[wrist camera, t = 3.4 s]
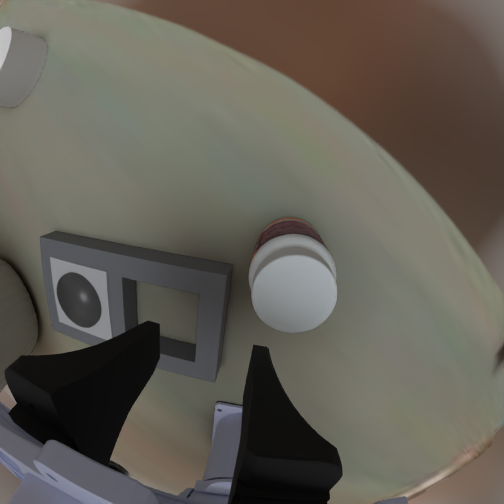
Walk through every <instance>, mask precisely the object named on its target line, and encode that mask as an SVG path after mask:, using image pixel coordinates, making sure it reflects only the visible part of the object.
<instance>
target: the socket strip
mask: <svg viewBox="0 0 504 504" xmlns="http://www.w3.org/2000/svg"><path fill="white" fill-rule="evenodd" d="M40 247H41V258H42V268H43V276H44V283H45V290H46V296H47V302H48V307H49V312H50V317H51V322H52V327H53V329H54V330H56V331H58V332H61V333H63V334H65V335H67V336H70V337H72V338H74V339H77V340H79V341H82V342H84V343H87V344H89V345H92V346H94V345H97V344H99V343H102V342H104V341H107V340H109V339H111V338H114V337H116V336H118V335H120V334H122V333H124V332H126V331H128V330H130V329H132V328H134V327H136V326H138V324H137V304H136V281H141V282H145V283H149V284H154V285H158V286H163V287H167V288H172V289H176V290H181V291H186V292H191V293H196V294H199V306H198V321H197V338H196V345H193V344H189V343H185V342H181V341H176V340H172V339H169V338H165V337H161V336H160V359H159V361H158V364H157V366H156V368H160V369H163V370H167V371H170V372H174V373H178V374H182V375H186V376H190V377H194V378H198V379H202V380H207V381H211V382H215V381H216V378H217V374H218V371H219V368H220V364H221V355H222V346H223V338H224V329H225V321H226V313H227V305H228V297H229V289H230V281H231V273H232V265H233V264H228V263H222V262H216V261H211V260H205V259H199V258H194V257H188V256H183V255H177V254H172V253H166V252H161V251H156V250H150V249H145V248H140V247H134V246H129V245H124V244H119V243H113V242H108V241H103V240H98V239H93V238H88V237H83V236H78V235H73V234H68V233H63V232H58V231H55V232H52V233H49V234H46V235H43V236H41V237H40Z"/></svg>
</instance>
